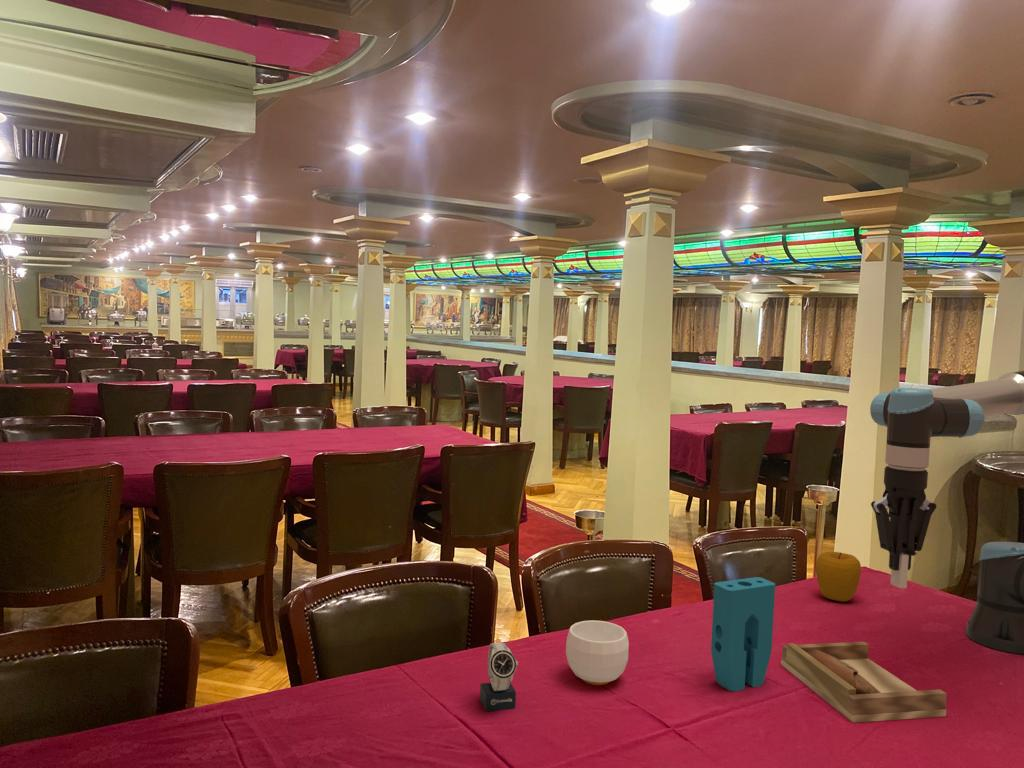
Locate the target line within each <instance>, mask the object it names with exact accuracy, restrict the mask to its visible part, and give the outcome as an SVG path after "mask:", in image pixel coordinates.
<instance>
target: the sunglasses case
mask: <svg viewBox="0 0 1024 768" xmlns="http://www.w3.org/2000/svg"><path fill="white" fill-rule="evenodd" d="M803 650H804V651H805V652H806V653H808V654H809V655H810V656H812V657H813V658H815V659H816V660H817V661H819V662H820V663H821V664H823V665H824V666H825V667H827V668H828V669H829V670H831V671H832V672H834V673H835V674H836V675H838V676H839V677H840V678H842V679H843V680H844V681H846V682H847V683H848V684H850V685H851V686H853V687H854V688H855V689H856V694H873V693H881V692H879V691H878V690H877V689H876V688H875V687H874V686H873V685H872V684H870V683H869V682H868V681H867V680H866V679H864V678H863V677H862V676H860V675H859V674H858V671H857V670H855V669H854V668H853V667H851V666H850V665H848V664H846V663H844V662H842V661H841V660H839V659H837V658H835V657H833V656H831V655H829V654H826V653H824V652H821V651H818V650H815V649H810V648H805V649H803Z"/></svg>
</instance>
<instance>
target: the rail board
mask: <svg viewBox="0 0 1024 768" xmlns="http://www.w3.org/2000/svg"><path fill="white" fill-rule="evenodd" d="M869 646H870V645H869V643H867V642H865V641H851V642H830V643H829V642H827V643H825V642H824V643H806V644H795V643H786V644H785V645H784V644H783V645H782V650H781V651H782V652H781V653H782V654H781V659H780V660H781V661H780V665H781V666H782V667H783V668H785V669H786V670H787V671H788V672H790V673H791V674H792V675H793V676H794V677H796V678H797V679H798V680H800V681H801V682H802V683H803V684H805V686H807V687H808V688H810V690H811V691H813V692H814V693H816V695H818V696H819V697H820V698H821V699H822V700H824V701H826V702H827V703H828V704H829V705H830V706H831V707H833V708H834V709H835V710H836V711H837V712H839V713H840V714H842V715H843V716H844V717H845V718H846V719H847V720H849V721H850V722H851V723H867V722H883V721H894V720H908V719H909V720H910V719H924V718H925V719H926V718H939V717H941V718H942V717H946V716H947V709H946V707H947V695H948V694H947V693H946V692H945V691H943V690H942V689H928V690H927V689H926V690H924V689H923V690H916V688H914V687H913V686H911V685H909V684H908V683H907V682H905V681H903V680H902V679H900V678H898V677H897V676H896V675H894V674H893V673H891V672H889V671H888V670H886V669H885V668H883V667H881V666H880V665H878V664H877V663H875V662H874V661H873V660H871V659H869V649H870V647H869ZM805 648H810V649H815V650H818V651H821V652H824V653H826V654H829V655H831V656H833V657H835V658H837V659H839V660H841V661H842V662H844V663H846V664H848V665H850V666H851V667H853V668H854V669H855V670H857V671H858V674H859V675H860V676H862V677H863V678H864V679H866V680H867V681H868V682H869V683H870V684H872V685H873V686H874V687H875V688H876V689H877V690H878V691H879V692H881V693H873V694H856V689H855V688H854V687H853V686H851V685H850V684H848V683H847V682H846V681H844V680H843V679H842V678H840V677H839V676H838V675H836V674H835V673H834V672H832V671H831V670H829V669H828V668H827V667H825V666H824V665H823V664H821V663H820V662H819V661H817V660H816V659H815V658H813V657H812V656H810V655H809V654H808V653H806V652H805V651H804V650H803V649H805Z"/></svg>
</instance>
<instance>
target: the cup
mask: <svg viewBox="0 0 1024 768" xmlns="http://www.w3.org/2000/svg"><path fill="white" fill-rule="evenodd" d="M565 645H566V646H565V654H566V659H567V663H568V666H569V668H570V669H571V671H572V672H573V673H574V675H575V676H576V677H577V678H580V679H582V681H584V682H585V683H587V684H589V685H593V686H604V685H607V684H609V683H610V682H613V681H615V680H617V679H618V678H619V677H620V676H621V675H622V674H623V673H624V672H625V669H626V666H627V664H628V662H629V661H628V660H629V649H630V648H629V646H630V641H629V637H628V633H627V631H626V630H625V629H624V627H622V626H620V625H618V624H616V623H613V622H608V621H605V620H597V619H596V620H594V619H593V620H583V621H579V622H575V623H574V624H572V625H571V626H570V627H569V630H568V634H567V637H566V643H565Z"/></svg>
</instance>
